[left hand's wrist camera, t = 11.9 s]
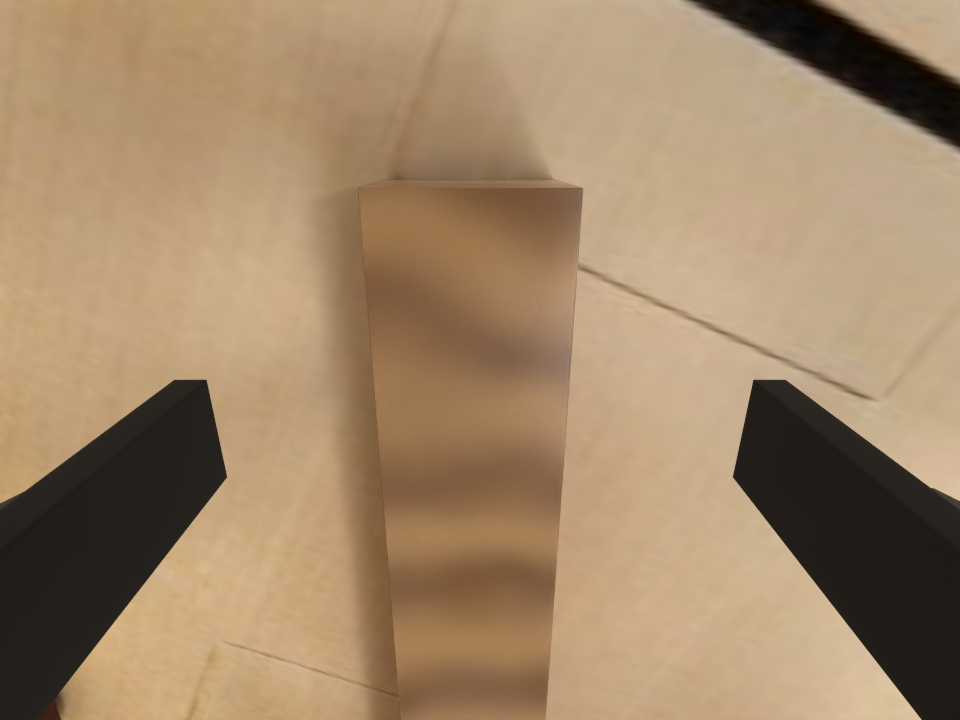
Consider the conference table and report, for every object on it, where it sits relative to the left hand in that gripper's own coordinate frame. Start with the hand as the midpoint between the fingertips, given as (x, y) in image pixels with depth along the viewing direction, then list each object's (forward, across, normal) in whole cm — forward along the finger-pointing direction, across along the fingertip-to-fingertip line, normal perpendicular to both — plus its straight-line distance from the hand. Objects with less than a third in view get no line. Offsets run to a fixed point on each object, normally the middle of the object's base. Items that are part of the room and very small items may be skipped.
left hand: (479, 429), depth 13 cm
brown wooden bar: (+17, 0, -23) cm, 28 cm away
